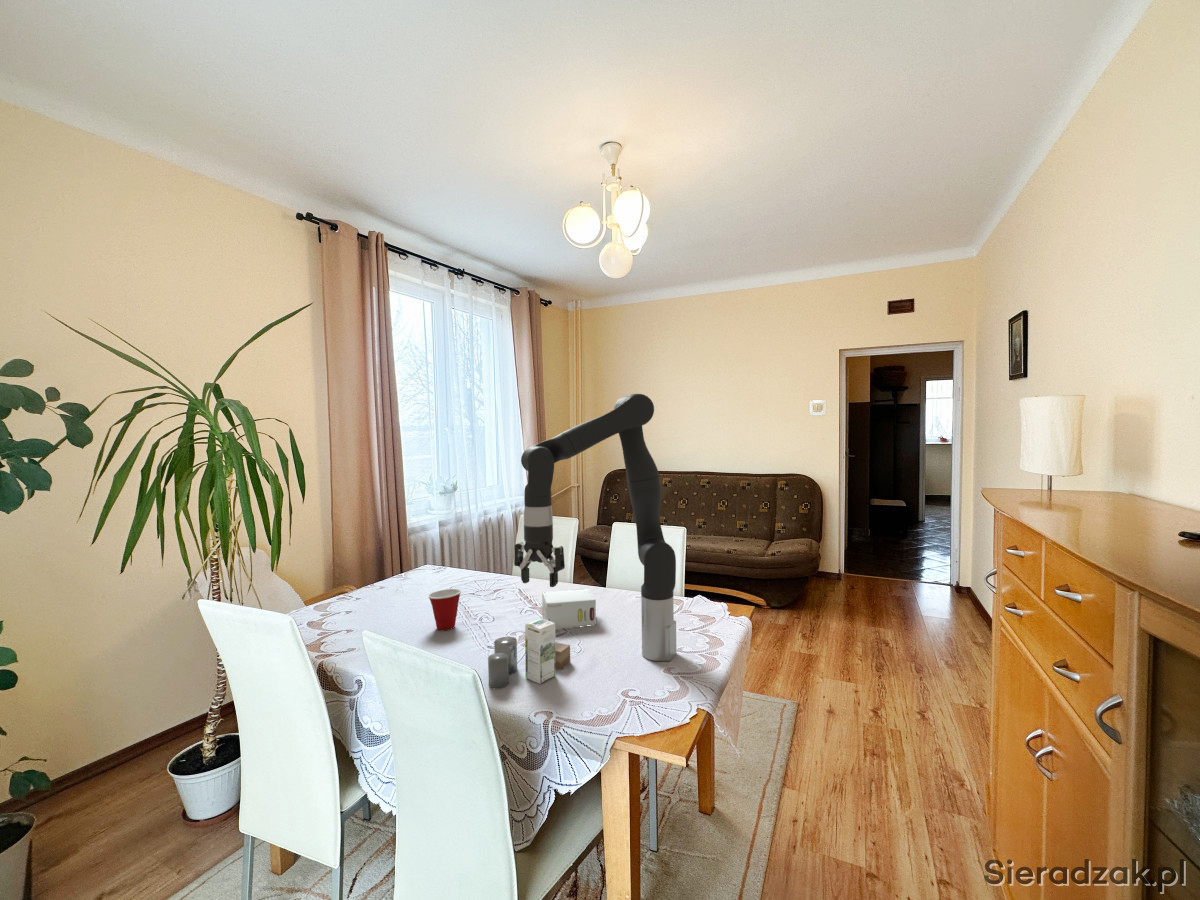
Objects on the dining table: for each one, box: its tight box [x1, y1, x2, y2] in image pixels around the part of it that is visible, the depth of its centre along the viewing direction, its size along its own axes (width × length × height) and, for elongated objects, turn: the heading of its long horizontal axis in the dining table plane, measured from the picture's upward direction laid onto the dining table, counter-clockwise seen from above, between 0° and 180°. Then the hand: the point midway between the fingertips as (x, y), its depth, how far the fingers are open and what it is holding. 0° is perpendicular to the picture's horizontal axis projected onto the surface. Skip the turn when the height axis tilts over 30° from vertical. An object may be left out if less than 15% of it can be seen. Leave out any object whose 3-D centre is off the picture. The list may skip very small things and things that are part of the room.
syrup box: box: [524, 618, 557, 685], centre depth 132 cm, size 6×6×14 cm
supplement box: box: [541, 588, 597, 630], centre depth 173 cm, size 17×13×9 cm
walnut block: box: [555, 641, 571, 671], centre depth 140 cm, size 5×5×5 cm
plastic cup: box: [427, 588, 462, 631], centre depth 169 cm, size 11×11×12 cm
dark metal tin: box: [493, 636, 518, 676], centre depth 137 cm, size 6×6×8 cm
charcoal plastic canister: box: [487, 653, 509, 690], centre depth 129 cm, size 5×5×7 cm
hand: (539, 584), depth 132 cm, fingers open, 8 cm apart
